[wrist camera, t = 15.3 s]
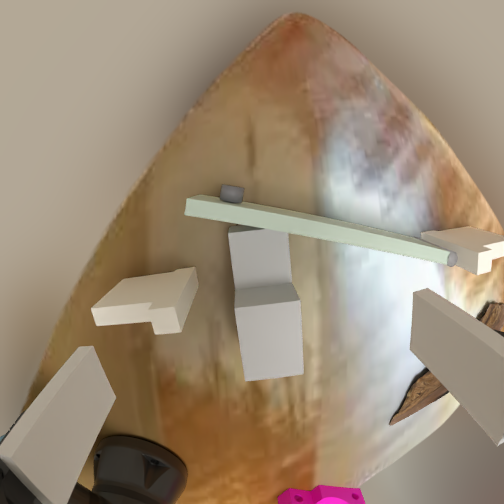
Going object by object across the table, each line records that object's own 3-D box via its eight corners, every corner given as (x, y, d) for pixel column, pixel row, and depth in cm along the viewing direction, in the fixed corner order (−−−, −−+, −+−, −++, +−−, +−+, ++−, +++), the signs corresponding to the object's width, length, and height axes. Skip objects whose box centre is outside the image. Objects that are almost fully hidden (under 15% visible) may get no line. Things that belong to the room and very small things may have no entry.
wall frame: (127, 294, 30) (87, 339, 20) (122, 276, 30) (79, 316, 20) (468, 240, 30) (524, 260, 20) (468, 224, 30) (525, 240, 20)
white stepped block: (244, 337, 32) (245, 381, 24) (229, 226, 29) (225, 242, 21) (290, 331, 32) (303, 373, 24) (281, 220, 29) (296, 234, 21)
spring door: (197, 207, 28) (184, 216, 21) (202, 180, 27) (190, 180, 20) (417, 250, 30) (455, 267, 23) (423, 227, 29) (462, 240, 22)
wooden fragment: (504, 284, 31) (509, 287, 30) (511, 327, 34) (514, 330, 33) (373, 405, 34) (376, 410, 33) (397, 431, 38) (400, 435, 37)
